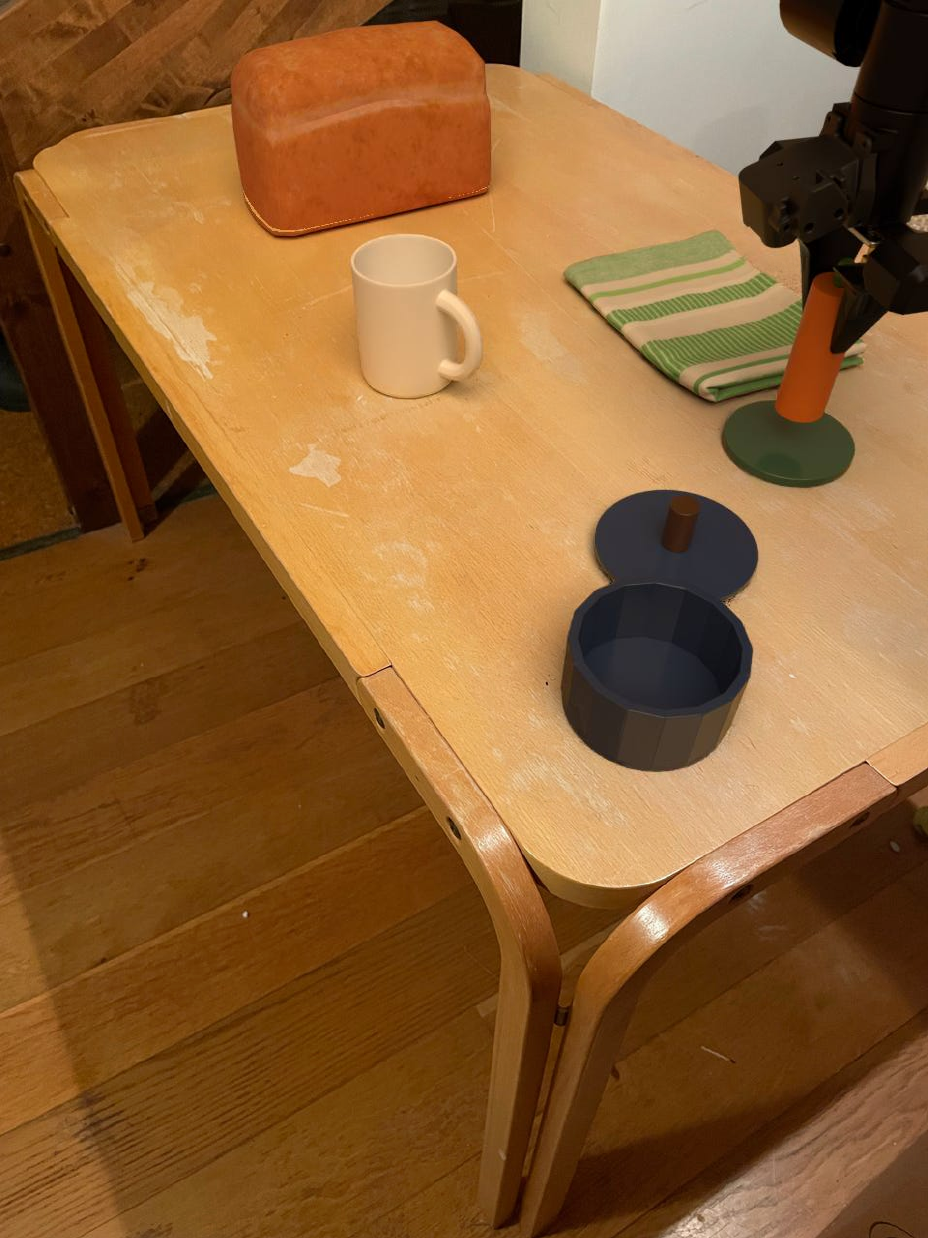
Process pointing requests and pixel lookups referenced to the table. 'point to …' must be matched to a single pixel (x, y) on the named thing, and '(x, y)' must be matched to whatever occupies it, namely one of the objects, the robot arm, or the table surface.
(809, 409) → the carrot
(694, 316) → the dish towel
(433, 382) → the mug
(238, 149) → the bread
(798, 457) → the saucer
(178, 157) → the table surface
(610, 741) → the pot
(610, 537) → the lid
